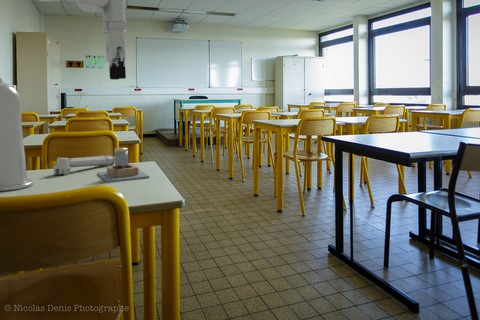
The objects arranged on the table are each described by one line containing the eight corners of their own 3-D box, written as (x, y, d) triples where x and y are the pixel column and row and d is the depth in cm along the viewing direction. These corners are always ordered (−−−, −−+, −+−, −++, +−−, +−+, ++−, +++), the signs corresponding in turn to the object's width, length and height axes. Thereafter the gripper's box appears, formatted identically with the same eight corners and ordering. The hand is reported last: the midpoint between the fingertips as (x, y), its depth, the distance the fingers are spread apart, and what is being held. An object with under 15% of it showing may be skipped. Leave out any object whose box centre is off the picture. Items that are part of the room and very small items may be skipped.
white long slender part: (115, 155, 158) (59, 155, 137) (115, 172, 159) (58, 175, 137) (107, 154, 161) (50, 154, 140) (106, 171, 161) (49, 173, 140)
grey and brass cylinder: (117, 175, 135) (116, 149, 133) (114, 173, 139) (113, 148, 137) (130, 174, 137) (129, 148, 135) (127, 172, 141) (125, 147, 139)
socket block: (106, 182, 128) (106, 173, 127) (97, 173, 141) (96, 165, 141) (149, 177, 134) (148, 168, 134) (136, 169, 148) (136, 161, 148)
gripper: (98, 31, 143) (101, 79, 146) (108, 24, 128) (112, 78, 131) (119, 32, 146) (122, 79, 149) (132, 25, 132) (134, 78, 135)
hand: (117, 79), depth 140 cm, fingers open, 9 cm apart
